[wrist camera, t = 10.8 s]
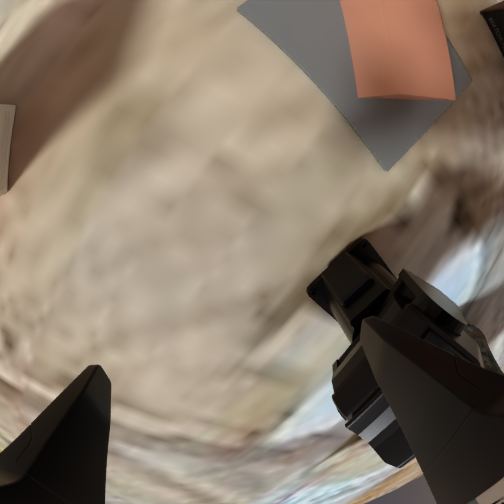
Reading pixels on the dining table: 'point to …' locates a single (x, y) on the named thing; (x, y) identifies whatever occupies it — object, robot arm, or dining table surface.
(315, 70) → the rubber mat
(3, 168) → the supplement box
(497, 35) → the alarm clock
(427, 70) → the brick-red block
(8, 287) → the dining table surface
